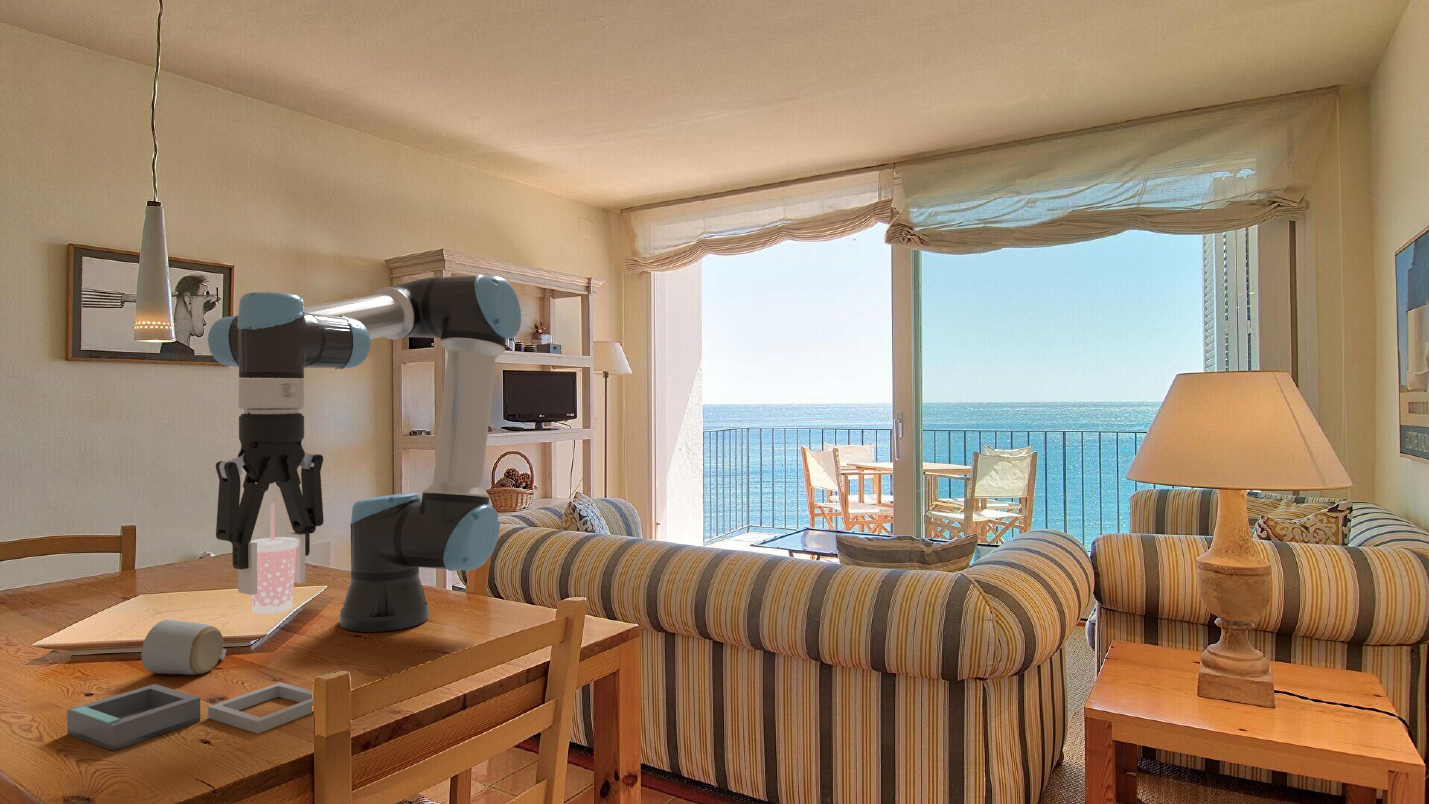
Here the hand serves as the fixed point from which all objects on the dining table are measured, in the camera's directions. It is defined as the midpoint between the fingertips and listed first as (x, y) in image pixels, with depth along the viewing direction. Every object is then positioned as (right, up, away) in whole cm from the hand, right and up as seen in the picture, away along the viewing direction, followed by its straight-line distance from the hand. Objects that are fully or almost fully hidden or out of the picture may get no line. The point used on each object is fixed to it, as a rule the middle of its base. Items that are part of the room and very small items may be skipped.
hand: (272, 586), depth 107 cm
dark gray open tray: (-14, -16, -5) cm, 22 cm away
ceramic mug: (-21, -16, +16) cm, 31 cm away
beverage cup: (0, -3, 0) cm, 3 cm away
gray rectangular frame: (0, -16, 0) cm, 16 cm away
